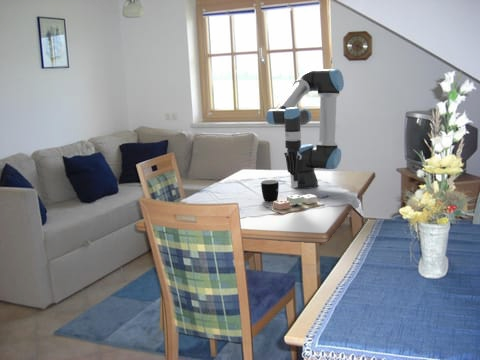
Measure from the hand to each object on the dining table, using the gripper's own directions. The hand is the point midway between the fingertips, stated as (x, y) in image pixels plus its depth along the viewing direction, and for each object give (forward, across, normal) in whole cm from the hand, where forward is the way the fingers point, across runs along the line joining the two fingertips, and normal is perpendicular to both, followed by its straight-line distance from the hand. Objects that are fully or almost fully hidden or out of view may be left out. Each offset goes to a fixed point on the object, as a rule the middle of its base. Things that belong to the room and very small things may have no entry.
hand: (294, 187), depth 276 cm
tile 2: (+8, 0, 0) cm, 8 cm away
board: (+10, 0, 0) cm, 10 cm away
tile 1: (+9, 0, +8) cm, 12 cm away
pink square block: (+9, 0, -8) cm, 12 cm away
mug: (+10, -19, -3) cm, 21 cm away
